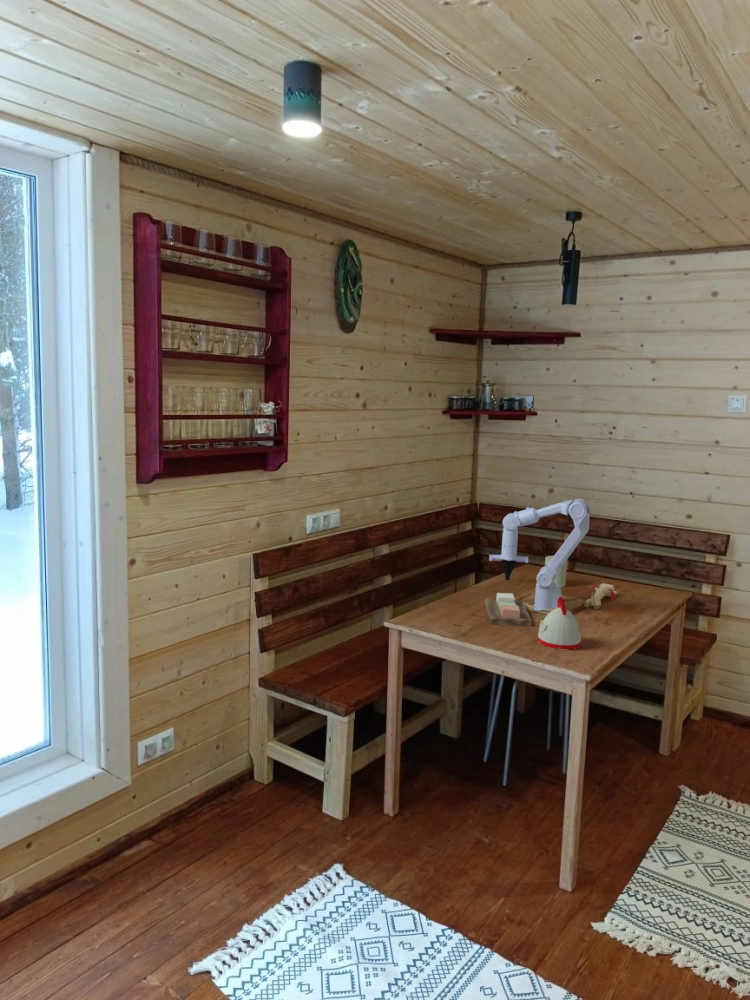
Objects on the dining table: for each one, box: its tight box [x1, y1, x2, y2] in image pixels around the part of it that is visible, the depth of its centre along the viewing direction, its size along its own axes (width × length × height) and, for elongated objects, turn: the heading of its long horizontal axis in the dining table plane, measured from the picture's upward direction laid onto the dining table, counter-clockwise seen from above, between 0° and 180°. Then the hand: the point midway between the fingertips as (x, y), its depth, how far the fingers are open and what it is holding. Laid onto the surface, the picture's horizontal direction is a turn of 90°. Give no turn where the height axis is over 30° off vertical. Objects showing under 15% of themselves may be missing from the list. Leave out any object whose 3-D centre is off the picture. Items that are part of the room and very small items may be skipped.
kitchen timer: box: [537, 596, 582, 650], centre depth 248 cm, size 14×14×15 cm
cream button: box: [495, 592, 515, 605], centre depth 283 cm, size 6×6×4 cm
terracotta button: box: [500, 605, 520, 619], centre depth 268 cm, size 6×6×4 cm
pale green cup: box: [544, 555, 568, 589], centre depth 318 cm, size 9×9×12 cm
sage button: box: [498, 602, 516, 612], centre depth 276 cm, size 6×6×4 cm
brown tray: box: [484, 598, 532, 627], centre depth 276 cm, size 14×24×2 cm, turn 177°
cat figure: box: [583, 582, 619, 610], centre depth 298 cm, size 10×9×25 cm
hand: (507, 579), depth 288 cm, fingers closed
